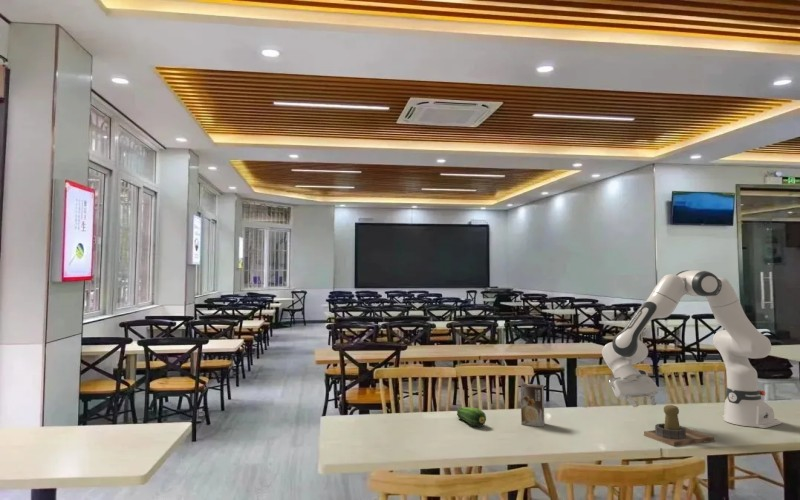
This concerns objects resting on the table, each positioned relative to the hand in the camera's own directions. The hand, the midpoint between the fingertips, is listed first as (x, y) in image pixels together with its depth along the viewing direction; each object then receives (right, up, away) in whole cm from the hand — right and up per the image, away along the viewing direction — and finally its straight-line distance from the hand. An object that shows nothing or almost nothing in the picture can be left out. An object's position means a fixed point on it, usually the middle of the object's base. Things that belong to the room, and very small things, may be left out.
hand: (645, 405), depth 212 cm
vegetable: (-70, -10, +10) cm, 72 cm away
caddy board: (+7, -9, -11) cm, 16 cm away
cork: (+4, -7, -13) cm, 16 cm away
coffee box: (-44, -10, +8) cm, 46 cm away
